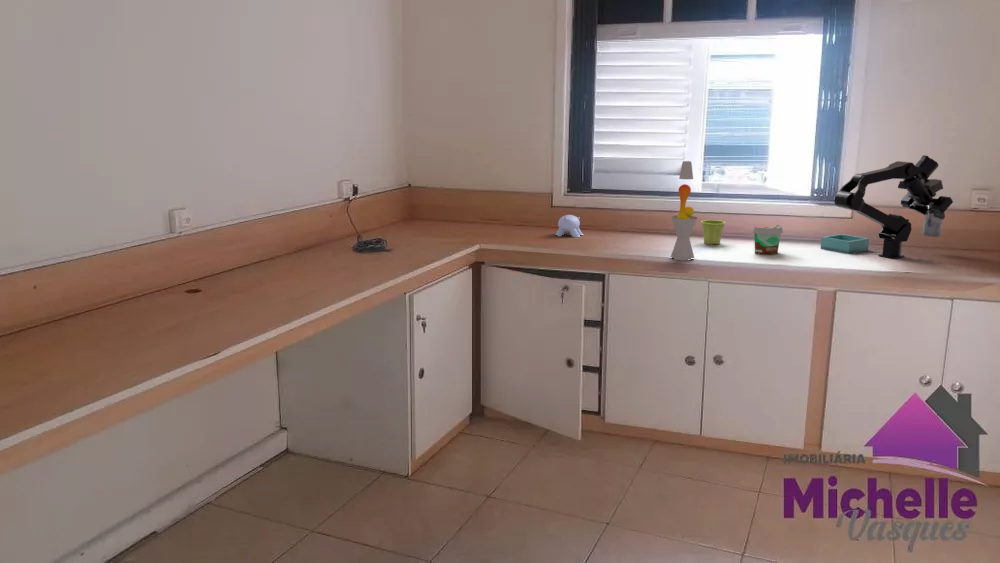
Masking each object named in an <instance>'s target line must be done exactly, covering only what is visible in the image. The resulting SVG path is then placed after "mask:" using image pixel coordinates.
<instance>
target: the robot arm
mask: <svg viewBox="0 0 1000 563" xmlns="http://www.w3.org/2000/svg"><path fill="white" fill-rule="evenodd" d="M938 168H939V163H938V162H937V161H936V160H935V159H933V158H931V157H929V156H928V155H922V156H921V158H920V159H919V160H918V161H917V162H916V163H914V162H909V161H908V162H907V161H899V160H897V161H895V162H893V163H891V164H889V165H888V166H886V167H883V168H880V169H875V170H871V171H866V172H862V173H855V174H853V175H852V177H851V179H850V180H849V181H848V182H846V183H845V184H844V185H842V186H841V188H840V189H839V190H838V192H837V193H836V194H835V196H834V205H835V206H836V207H838V208H841V209H846V210H849V211H853V212H856V213H857V214H859V215H861V216H863V217H865V218H867V219H869V220H871V221H873V222H875V223H876V224H878V225H880V226H881V230H880V231H879V232H878V237H879V239H883V245H882V252H881V253H879V254H878V255H877V256H879V257H882V258H883V257H884V258H890V259H899V258H900V259H901V258H904V257H905V255H903V254H902V245H903V242H904V243H905V242H907V241H908V240H909V237H910V234H911V232H912V223H911V222H910V219H908V218H905V217H904V216H903V215H901V214H894V213H889V214H887V213H885V212H883V211H881V210H880V209H878V208H876V207H873V206H872V205H871V204H869V203H867V202H865V200H864V197H865V194H866V189H867V187H868V186H869V185H872V184H876V183H880V182H884V181H888V180H896V179H897V180H899V183H898V186H897V188H898V189H902V190H906V191H907V193H906V194H905V195H904V197H902V198H901V200H900V205H901V206H902V208H908V210H909V209H910V210H912V211H915V212H917V213H919V214H921V215H924V216H925V210H926V206H929V204H930V205H932V211H931V213H933V214H935V215H936V216H938V217H939V218H941V219H943V220H944V219H946V215H945V214H946V213H945V212H946V211H947V209H949V207H950V206H951V205H952V204H953V203H954V200H953V199H952V197H951V196H947V195H939V196H938V198H934V197H936V196H937V192H940V191H942V190H943V189H944V186H943V181H942V180H941V179H935V178H932V179H929V177H931V176H932V174H933V173H934V172H935V171H936V170H937V169H938ZM855 188H857V189H856V191H855V192H852V191H853V190H854V189H855Z"/></svg>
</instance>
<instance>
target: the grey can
mask: <svg viewBox="0 0 1000 563" xmlns="http://www.w3.org/2000/svg"><path fill="white" fill-rule="evenodd" d="M931 211H932V205H930V204H929V206H926V210H925V215H924V218H923V219H924V220H923V228H922V236H924V237H933V238H934V237H935V238H937V237H941V236H942V230H943V222H944V221H943V220H944V219H941V218H939V217H938V216H936V215H935V214H933V213H931Z"/></svg>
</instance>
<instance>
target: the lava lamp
mask: <svg viewBox="0 0 1000 563" xmlns="http://www.w3.org/2000/svg"><path fill="white" fill-rule="evenodd" d="M693 179H694V176H693V166H692V161H690V160H683V161H682V164H681V168H680V173H679V180H693ZM691 192H692V188H691V186H690V185H688V184H686V183H685V184H681V185H680V186H679V187H678V195H679V201H680V204H679V205H680V206H679V211H678V215H673V216H671V220H672V224H673V226H674V227H673V228H674V230H675V234H676V237H677V238H676V241H675V244H674V247H673V249H672V250H671V251H672V252H671V255H670V257H672V258H674V259H675V261H689V260H688V259H691V258H695V255H694V252H693V246H692V242H691V238H690V237H691V235H692V232H693V230H694V228H695V225H696V222H697V220H698V217H697V216H694V212H695V210H694V208H693V207H692V206H689V205H688V206H686V205H687V200H688V198H689V196H690V194H691ZM674 259H673V260H674Z"/></svg>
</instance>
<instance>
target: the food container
mask: <svg viewBox="0 0 1000 563" xmlns="http://www.w3.org/2000/svg"><path fill="white" fill-rule="evenodd" d="M783 231H784V230H783V226H781V225H779V224H777V225H776V226H775V227H756V226H755V227H754V228H753V232H752V233H753V234H754V254H756V255H763V256H766V255H767V256H772V255H777V254H779V252H778V251H779V246H780V242H781V234H783V233H784V232H783Z"/></svg>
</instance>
